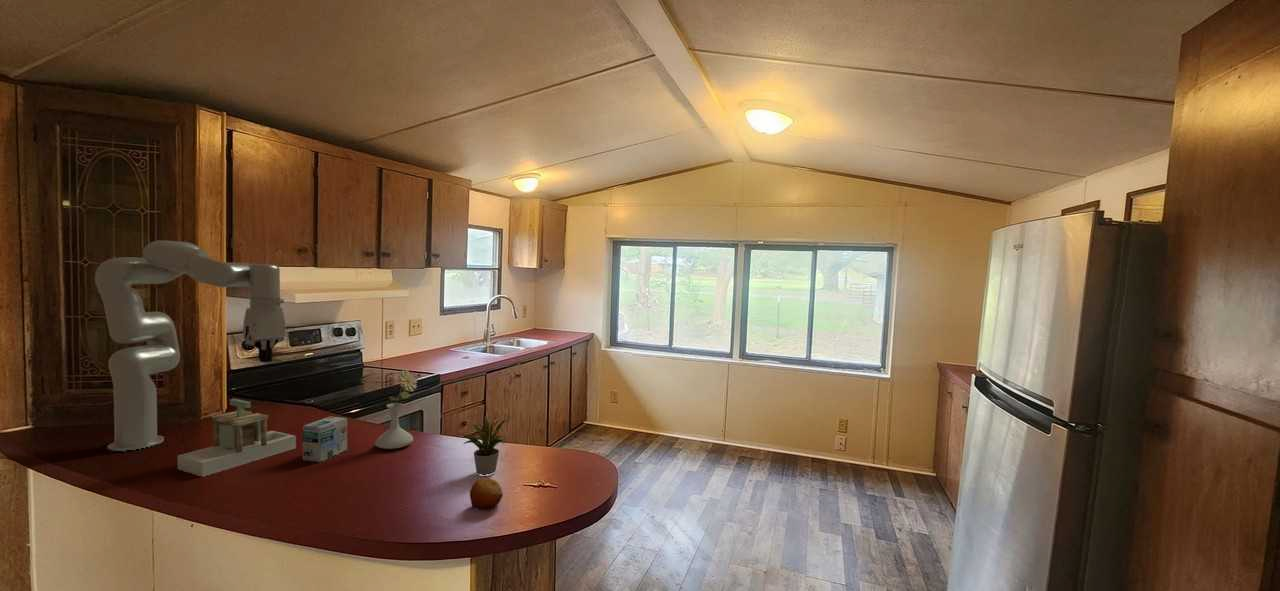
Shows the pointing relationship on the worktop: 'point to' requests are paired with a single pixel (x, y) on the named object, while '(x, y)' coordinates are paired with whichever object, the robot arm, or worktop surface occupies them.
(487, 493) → the fruit
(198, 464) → the white rectangular tray
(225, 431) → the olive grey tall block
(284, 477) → the worktop surface
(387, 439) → the flower in vase
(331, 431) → the light bulb box
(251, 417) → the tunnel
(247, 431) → the block
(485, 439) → the house plant
